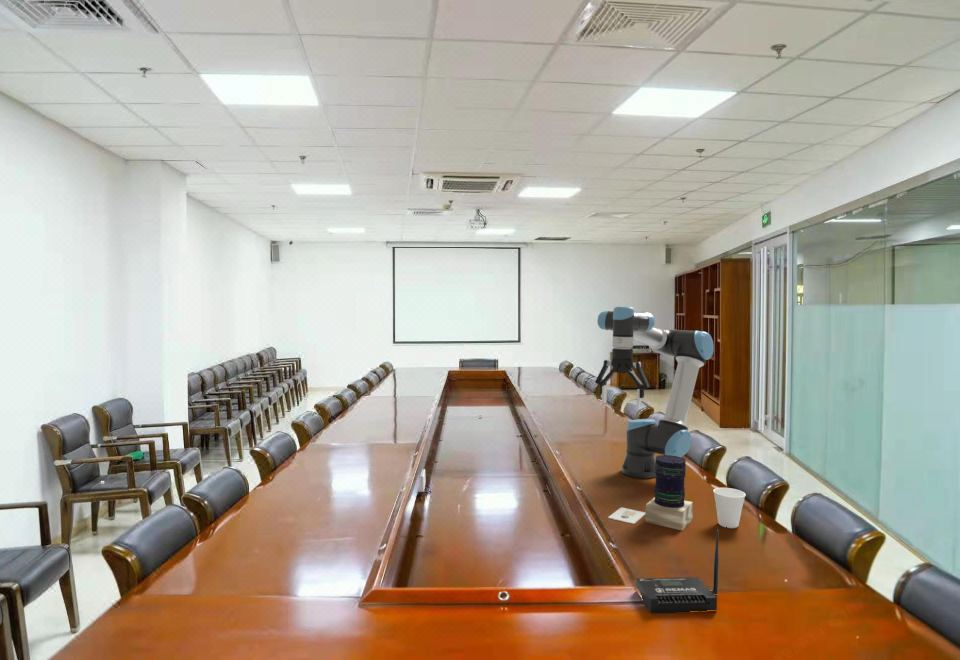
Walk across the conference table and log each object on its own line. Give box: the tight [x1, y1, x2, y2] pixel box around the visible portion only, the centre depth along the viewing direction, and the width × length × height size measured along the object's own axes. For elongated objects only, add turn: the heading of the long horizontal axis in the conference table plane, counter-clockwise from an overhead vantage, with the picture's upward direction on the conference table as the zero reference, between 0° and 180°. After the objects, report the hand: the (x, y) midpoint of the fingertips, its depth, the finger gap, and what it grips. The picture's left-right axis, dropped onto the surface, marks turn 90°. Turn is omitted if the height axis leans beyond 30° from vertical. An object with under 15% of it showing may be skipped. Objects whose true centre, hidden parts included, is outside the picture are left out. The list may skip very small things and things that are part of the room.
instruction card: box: [607, 506, 646, 525], centre depth 201 cm, size 12×9×1 cm
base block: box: [644, 497, 694, 531], centre depth 197 cm, size 12×12×6 cm
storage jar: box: [653, 454, 687, 508], centre depth 196 cm, size 10×10×15 cm
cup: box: [712, 487, 747, 529], centre depth 193 cm, size 10×10×11 cm
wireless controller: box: [635, 529, 720, 615], centre depth 143 cm, size 20×14×17 cm
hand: (621, 404), depth 220 cm, fingers open, 13 cm apart
